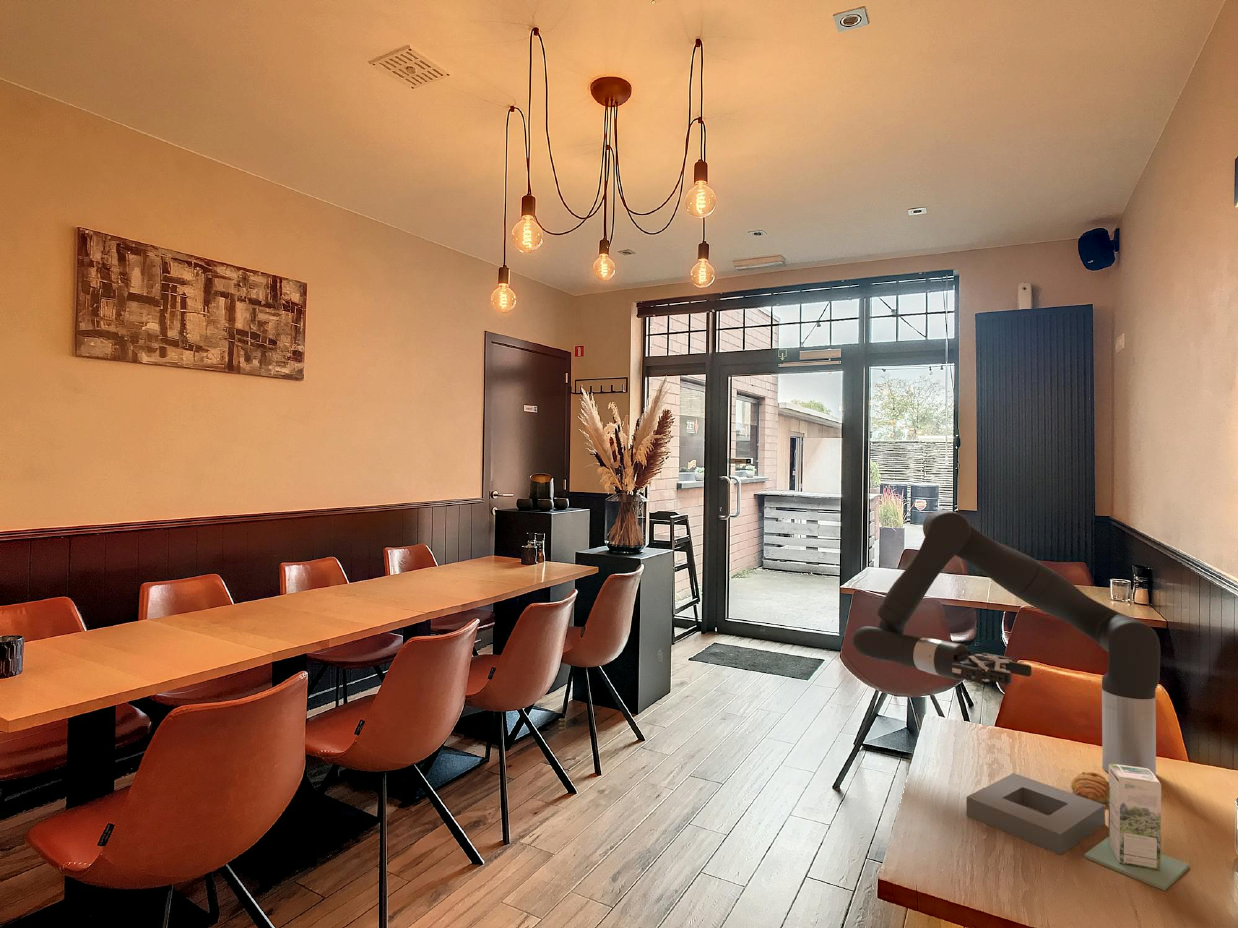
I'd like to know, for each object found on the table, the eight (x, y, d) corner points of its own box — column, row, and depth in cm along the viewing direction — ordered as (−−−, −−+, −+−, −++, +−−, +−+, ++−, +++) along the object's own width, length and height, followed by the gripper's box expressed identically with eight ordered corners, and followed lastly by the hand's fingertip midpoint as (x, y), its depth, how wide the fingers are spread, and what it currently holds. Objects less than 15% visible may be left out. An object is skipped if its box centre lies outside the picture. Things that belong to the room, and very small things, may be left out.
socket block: (1013, 790, 137) (1013, 772, 137) (1105, 823, 124) (1104, 804, 124) (966, 815, 127) (966, 796, 127) (1060, 854, 114) (1060, 833, 114)
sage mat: (1110, 837, 120) (1110, 834, 120) (1189, 867, 111) (1189, 864, 111) (1084, 857, 113) (1083, 854, 113) (1164, 890, 104) (1164, 887, 104)
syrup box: (1148, 853, 114) (1147, 766, 114) (1162, 872, 108) (1161, 780, 108) (1108, 846, 116) (1107, 760, 116) (1119, 864, 110) (1118, 775, 111)
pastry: (1109, 812, 129) (1109, 791, 129) (1067, 801, 133) (1067, 781, 134) (1113, 794, 136) (1113, 775, 136) (1073, 784, 141) (1073, 766, 141)
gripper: (922, 645, 143) (1002, 662, 130) (958, 635, 151) (1036, 650, 138) (923, 681, 143) (1003, 701, 130) (959, 669, 151) (1037, 687, 138)
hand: (1020, 675), depth 134 cm, fingers open, 8 cm apart
